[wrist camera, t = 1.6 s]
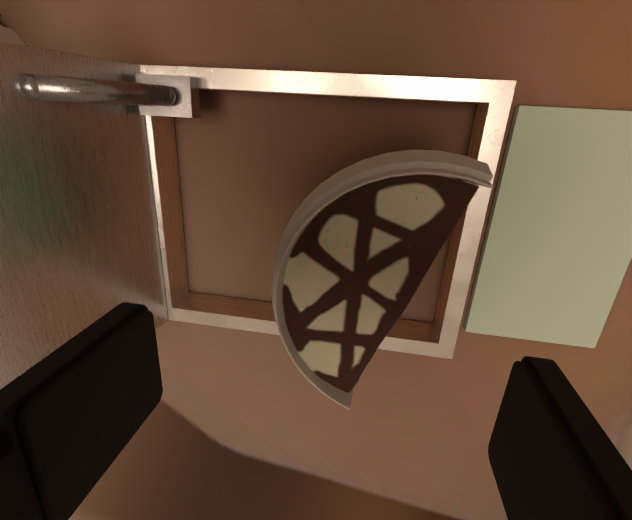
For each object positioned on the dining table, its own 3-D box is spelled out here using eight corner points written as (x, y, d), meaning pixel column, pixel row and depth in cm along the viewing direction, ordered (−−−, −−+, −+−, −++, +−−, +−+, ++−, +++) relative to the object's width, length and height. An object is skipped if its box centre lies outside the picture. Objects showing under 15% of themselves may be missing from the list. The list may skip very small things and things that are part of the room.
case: (115, 67, 23) (-403, -21, 8) (500, 84, 20) (879, -6, 5) (146, 297, 29) (-109, 499, 14) (445, 337, 26) (535, 648, 11)
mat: (515, 105, 20) (519, 105, 19) (680, 114, 19) (689, 113, 18) (463, 326, 25) (465, 331, 25) (589, 342, 24) (594, 348, 24)
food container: (354, 100, 21) (334, 90, 12) (451, 146, 21) (503, 172, 12) (279, 274, 26) (223, 361, 17) (357, 311, 26) (344, 417, 17)
